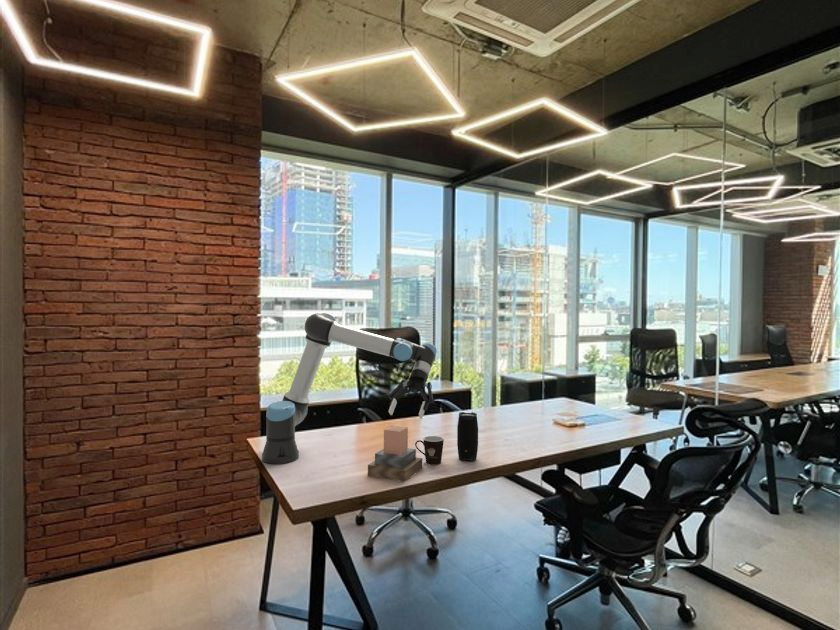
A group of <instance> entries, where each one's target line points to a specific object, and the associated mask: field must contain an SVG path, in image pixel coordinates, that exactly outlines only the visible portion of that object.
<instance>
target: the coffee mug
mask: <svg viewBox="0 0 840 630" xmlns="http://www.w3.org/2000/svg"><path fill="white" fill-rule="evenodd" d="M418 443H422V445H423V448H424V452H423V451H422V450H421V449H420V448H419V447H418V446H417V444H418ZM444 443H445V438H444V437H442V436H438V435H428V436H424V437H423V439H422V440H416V441H415V443H414V444H415V446H414V447H415V449H416V450H418V451H419V452H420V453H421V454H422V455H424V458H425V464H427V465H429V464H430V465H429V466H437V465H441V464H442V459H443V451H444V450H443V449H444Z"/></svg>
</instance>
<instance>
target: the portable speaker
mask: <svg viewBox="0 0 840 630" xmlns="http://www.w3.org/2000/svg"><path fill="white" fill-rule="evenodd" d="M457 418H458V420H457V426H456V428H457V429H456V430H457V431H456V433H457V436H456V439H457V442H456V444H457V455H458V460H459V461H463V460H468V461H469V462H475V461H477V457H478V451H479V450H478V449H479V423H478V414H477V413H476V412H464V411H461V412H459V413H458V417H457Z"/></svg>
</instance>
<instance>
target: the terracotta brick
mask: <svg viewBox="0 0 840 630" xmlns="http://www.w3.org/2000/svg"><path fill="white" fill-rule="evenodd" d="M408 430H409V429H408V427H405V426H399V425H398V426H397V425H390V426H389V427H386V428H384V429H383V449H384V453H389V454H396V455H401V454H402V453H404V452H405V451H407V450H408V448H409V446H408V445H409V444H408V443H409V441H408V440H409V439H408V438H409V437H408V436H409V435H408V433H409V431H408Z"/></svg>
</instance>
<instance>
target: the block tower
mask: <svg viewBox="0 0 840 630" xmlns="http://www.w3.org/2000/svg"><path fill="white" fill-rule="evenodd" d="M420 469H421V470H422V469H423V458H421V457H417V448H410V447H408V450H407V451H405V452H404V453H402V454H401V455H396V454H389V453H384V448H383V449H381V450H379V451H378V452H375V453H374V460H373V461H371V462H370V463H368V464H367V476H369V475H370V477H375V478H376V477H377V478H381V479H387V480H393V479H394V481H399V480H400V482H405V481H406V482H407V481H408V480H409V479H411V478H412V477H413V476H414V475H416V474H417V473H419V470H420ZM421 470H420V471H421ZM415 473H416V474H415ZM410 477H411V478H410Z"/></svg>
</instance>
